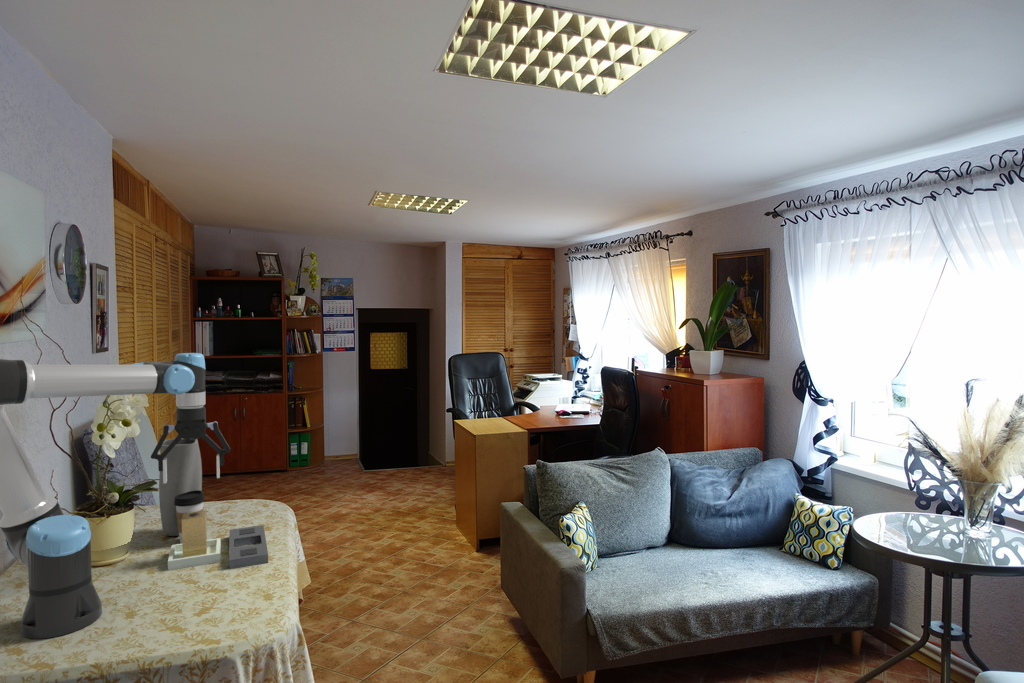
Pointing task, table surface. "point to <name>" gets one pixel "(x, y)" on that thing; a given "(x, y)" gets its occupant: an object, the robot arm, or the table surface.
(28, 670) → the table surface
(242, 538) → the rail
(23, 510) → the robot arm
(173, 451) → the vase
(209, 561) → the parts tray
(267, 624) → the table surface
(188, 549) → the block
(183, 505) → the coffee cup
